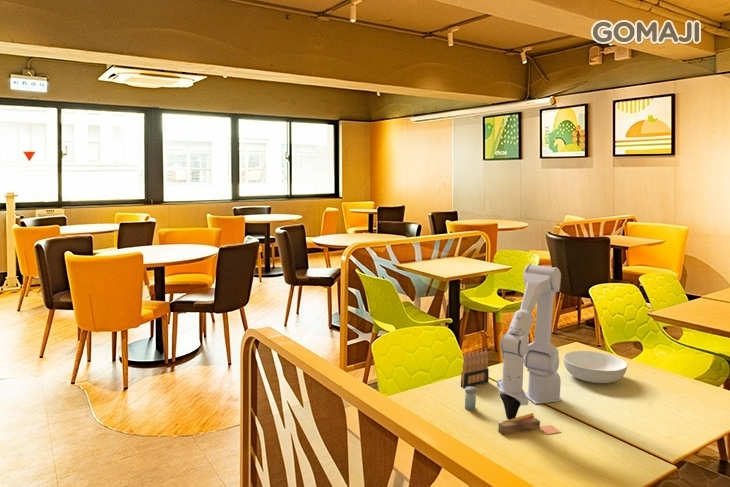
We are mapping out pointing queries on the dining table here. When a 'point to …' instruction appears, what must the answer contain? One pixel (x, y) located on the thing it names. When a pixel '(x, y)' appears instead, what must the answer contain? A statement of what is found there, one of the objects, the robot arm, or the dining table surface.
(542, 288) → the robot arm
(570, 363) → the serving bowl
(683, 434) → the dining table surface
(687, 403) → the dining table surface
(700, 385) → the dining table surface
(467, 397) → the grey-green cylindrical peg
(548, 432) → the terracotta pad
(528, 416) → the chocolate bar
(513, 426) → the bar
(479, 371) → the ammunition clip
